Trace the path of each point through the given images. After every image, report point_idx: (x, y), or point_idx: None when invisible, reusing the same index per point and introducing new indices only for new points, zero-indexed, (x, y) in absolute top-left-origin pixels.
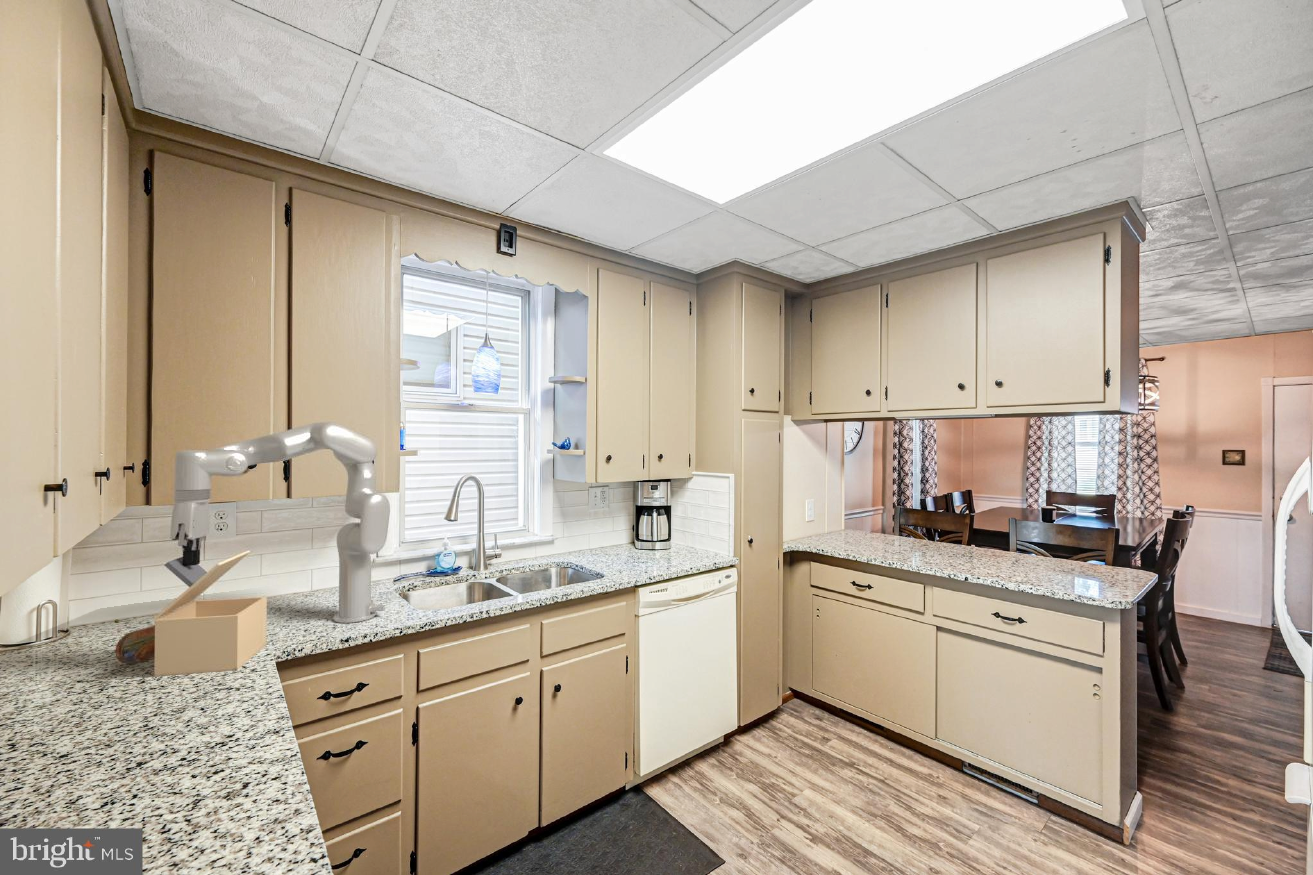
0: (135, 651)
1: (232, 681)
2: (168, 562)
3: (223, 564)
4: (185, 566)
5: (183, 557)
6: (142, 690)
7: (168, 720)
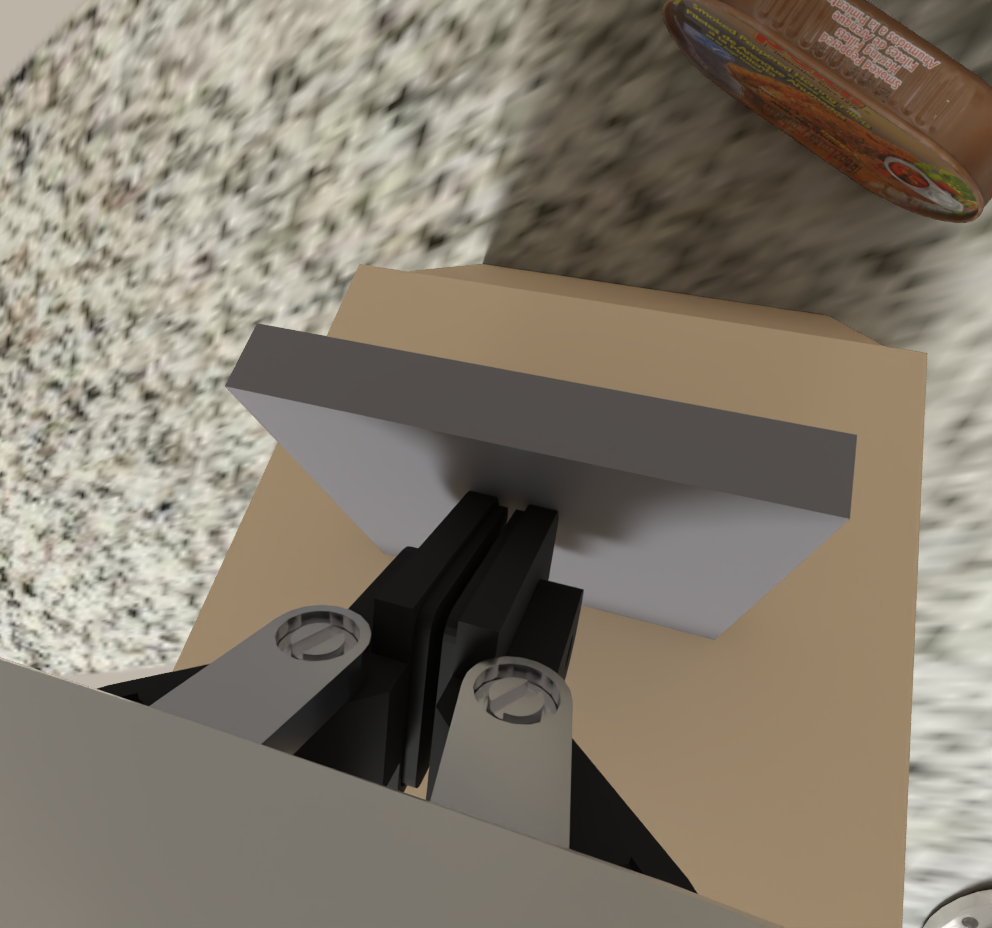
0: (735, 59)
1: None
2: (234, 389)
3: None
4: None
5: (429, 545)
6: (343, 277)
7: (111, 440)
